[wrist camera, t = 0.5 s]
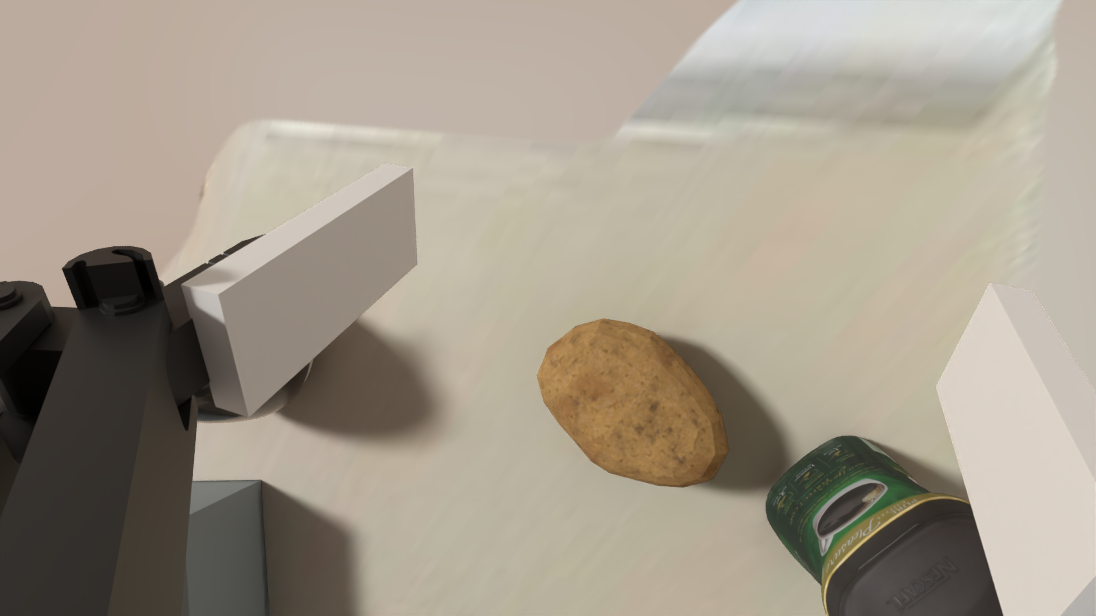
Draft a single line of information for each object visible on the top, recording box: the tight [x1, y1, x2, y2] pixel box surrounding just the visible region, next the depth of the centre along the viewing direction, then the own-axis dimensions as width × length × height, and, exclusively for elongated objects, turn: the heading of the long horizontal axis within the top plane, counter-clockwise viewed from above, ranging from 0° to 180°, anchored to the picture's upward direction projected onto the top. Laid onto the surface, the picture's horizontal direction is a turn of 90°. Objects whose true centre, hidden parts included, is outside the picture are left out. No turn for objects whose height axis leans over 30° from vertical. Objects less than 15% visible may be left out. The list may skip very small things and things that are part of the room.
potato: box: [537, 319, 729, 487], centre depth 44 cm, size 10×14×8 cm
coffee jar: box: [766, 436, 1003, 616], centre depth 37 cm, size 10×8×19 cm
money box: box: [181, 480, 269, 616], centre depth 49 cm, size 14×14×10 cm
